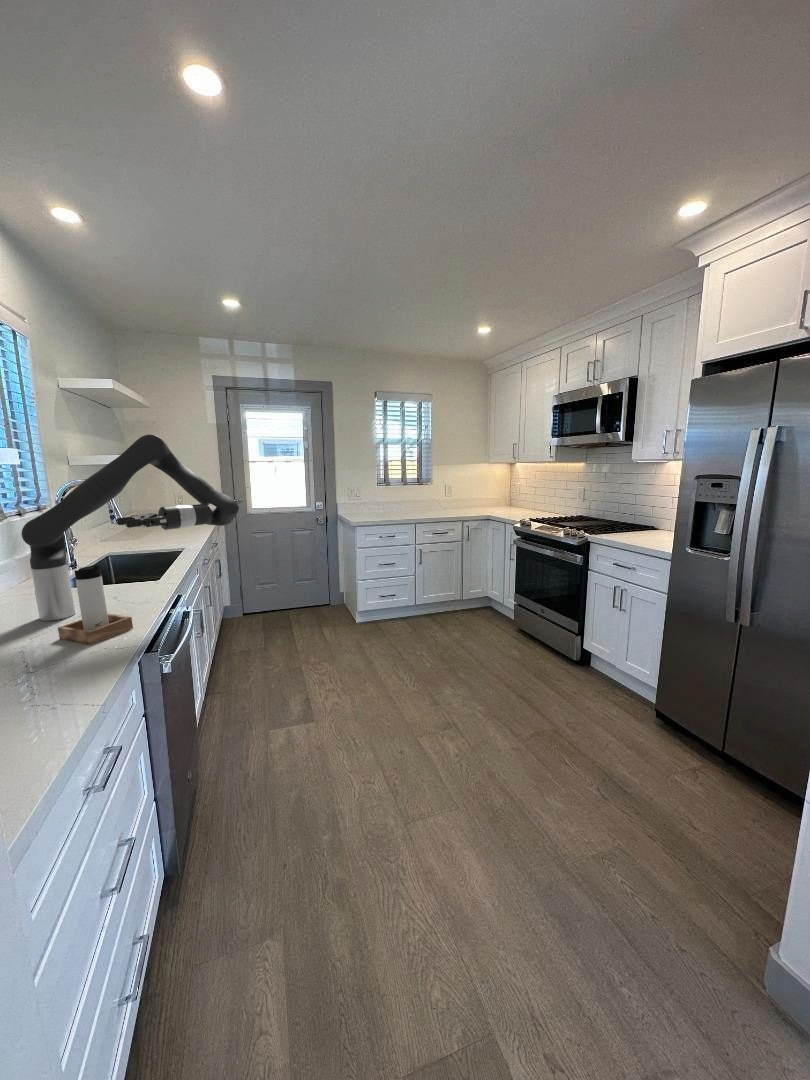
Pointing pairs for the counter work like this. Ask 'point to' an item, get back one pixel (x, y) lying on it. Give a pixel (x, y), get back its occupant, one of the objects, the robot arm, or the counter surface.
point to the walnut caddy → (95, 630)
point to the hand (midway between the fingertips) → (121, 522)
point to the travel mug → (91, 597)
